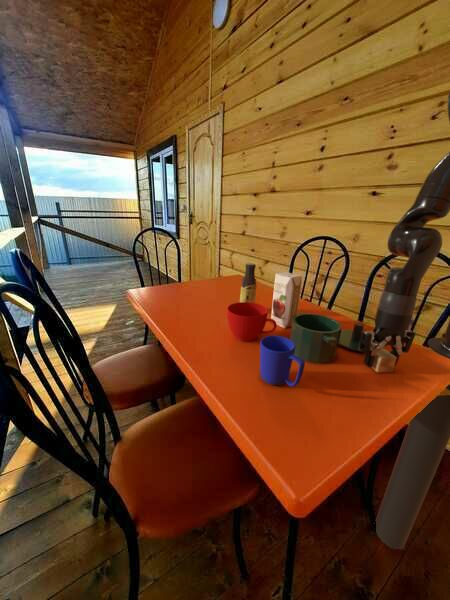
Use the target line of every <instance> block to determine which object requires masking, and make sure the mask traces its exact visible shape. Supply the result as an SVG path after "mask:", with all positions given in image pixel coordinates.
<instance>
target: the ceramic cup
mask: <svg viewBox="0 0 450 600" xmlns="http://www.w3.org/2000/svg"><path fill="white" fill-rule="evenodd" d="M226 312H227V313H226V315H227V324H228V327H229V330H230V331H231V333H232V334H233V336H235V338H236V339H237V340H239V341H241V342H252V341H254V340H255V339H256V338H258V337H259V336H260V335H266V334H267V335H268V334H271V333H273V332H274V331H275V330H276V329H277V326H278V325H277V324H276V322H275V320H273V319H271V318H268V313H269V311H268V308H267V307H266V306H264V305H263V304H260V303H256V302H255V303H250V302H240V301H239V302H234V303H231V304H229V305H228V306H227V309H226ZM267 322H270V323H272V324H273V327H272V329H270V330H264V328H265V326H266V323H267Z"/></svg>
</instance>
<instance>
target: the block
mask: <svg viewBox="0 0 450 600" xmlns="http://www.w3.org/2000/svg"><path fill="white" fill-rule="evenodd" d="M371 350H373V349H371ZM374 356H375V358H374V362H373V365H372V367H371V368H372V369H373V370H374V371H375V372H376V373H378V374H379V373H393V372H394V368H395V366H394V365H395V362H396V358H397V357H396V356H394V355H393V354H391V353H390V351H388V350H387V349H386V348H382V349H381V350H378V352H377V353H376V354H375V355H374Z"/></svg>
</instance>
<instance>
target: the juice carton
mask: <svg viewBox="0 0 450 600" xmlns="http://www.w3.org/2000/svg"><path fill="white" fill-rule="evenodd" d="M274 277H275V278H274V284H273V286H274V287H273V295H272V305H271V316H270V319H273V320H275V322H276V324H277V326H278V327H280V328H282V329H287V328H289V327H290V328H291V326H292V318H293V317H294V316H296V315H298V314H299V313H298V312H299V307H300V306H299V305H300V300H301V299H300V297H301V292H302V291H301V290H302V282H303V280H302V279H303V275H300V274H293V273H291V272H289V271H283V272H278V273H275V276H274Z"/></svg>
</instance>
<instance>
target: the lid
mask: <svg viewBox="0 0 450 600" xmlns="http://www.w3.org/2000/svg"><path fill="white" fill-rule="evenodd" d="M364 328H365V324H364V323H362V322H359V321H358V322H357V321H356V322H354V324H353V329H342V330H341V335H340V340H339V345H338V346H341V347H343V348H345V349H348V350H350V351H354V352H360V353H364V352H363V351H362V350H360V340H361V333H362V331H363V330H364ZM375 344H377V345H378V344H379V343H377V342H375ZM373 348H374V347H373ZM373 348H372V349H373Z"/></svg>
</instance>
